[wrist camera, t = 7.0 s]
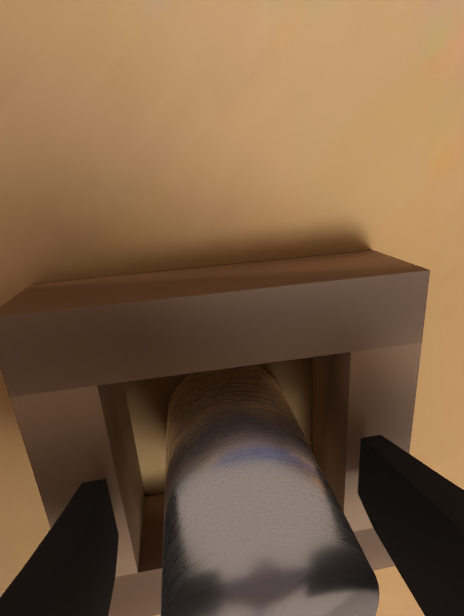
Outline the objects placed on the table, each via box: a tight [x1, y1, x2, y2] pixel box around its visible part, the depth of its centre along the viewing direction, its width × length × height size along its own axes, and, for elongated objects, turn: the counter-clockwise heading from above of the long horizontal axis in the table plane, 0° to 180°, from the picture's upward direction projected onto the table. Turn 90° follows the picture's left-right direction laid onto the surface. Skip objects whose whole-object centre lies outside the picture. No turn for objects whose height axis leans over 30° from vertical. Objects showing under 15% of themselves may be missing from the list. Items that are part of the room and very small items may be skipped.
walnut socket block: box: [0, 250, 430, 616], centre depth 12 cm, size 11×11×3 cm
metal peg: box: [161, 365, 379, 616], centre depth 11 cm, size 4×4×7 cm
